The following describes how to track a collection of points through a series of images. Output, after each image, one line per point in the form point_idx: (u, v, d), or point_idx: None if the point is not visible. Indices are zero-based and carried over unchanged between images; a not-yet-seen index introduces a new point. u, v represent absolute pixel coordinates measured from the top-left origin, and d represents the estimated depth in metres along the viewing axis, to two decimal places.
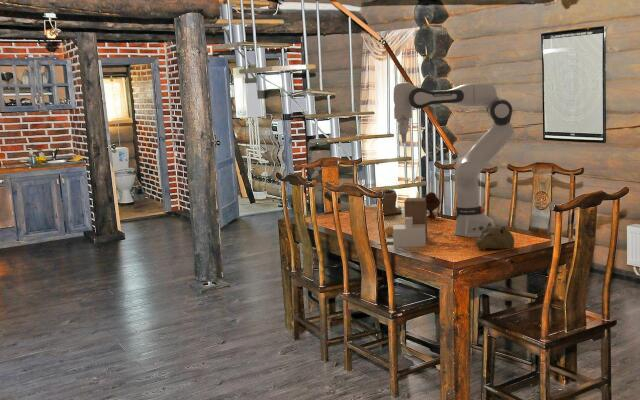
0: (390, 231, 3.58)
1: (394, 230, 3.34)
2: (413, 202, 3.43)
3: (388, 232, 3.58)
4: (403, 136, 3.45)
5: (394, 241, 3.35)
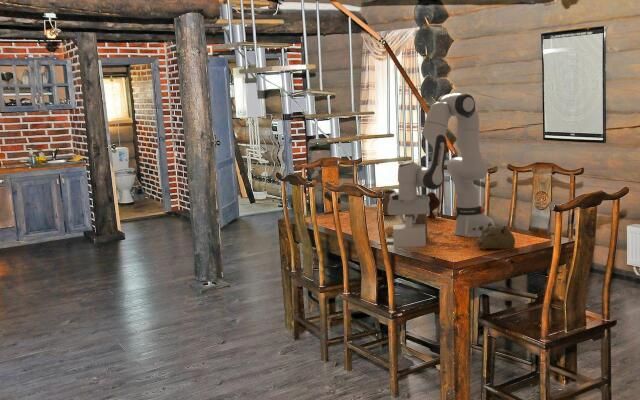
0: (390, 231, 3.58)
1: (394, 230, 3.34)
2: None
3: (388, 232, 3.58)
4: (417, 215, 3.36)
5: (394, 241, 3.35)
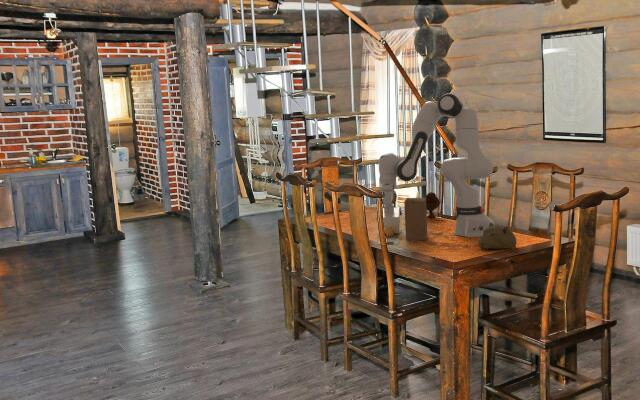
0: (389, 235, 3.57)
1: (398, 217, 3.59)
2: (413, 202, 3.43)
3: (388, 236, 3.57)
4: None
5: (399, 227, 3.60)
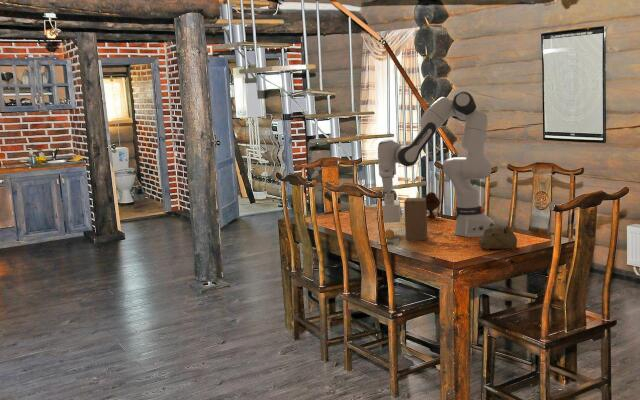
0: None
1: (398, 205, 3.55)
2: (413, 202, 3.43)
3: None
4: None
5: (399, 216, 3.55)
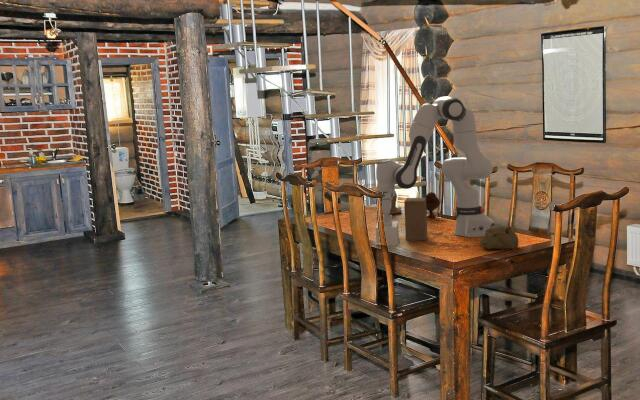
0: None
1: (396, 228, 3.39)
2: (413, 202, 3.43)
3: None
4: None
5: (397, 239, 3.39)
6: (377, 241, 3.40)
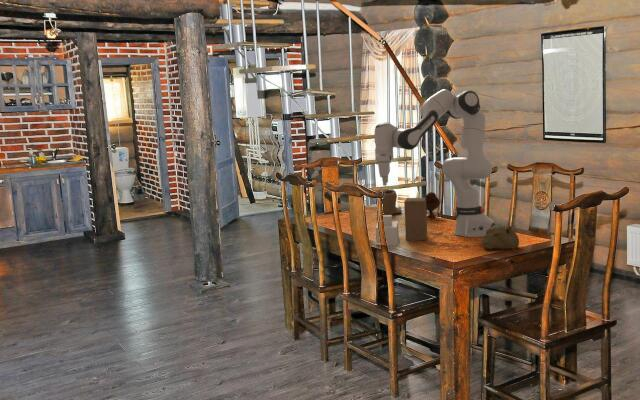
0: None
1: (396, 228, 3.39)
2: (413, 202, 3.43)
3: None
4: None
5: (397, 239, 3.39)
6: (377, 241, 3.40)
